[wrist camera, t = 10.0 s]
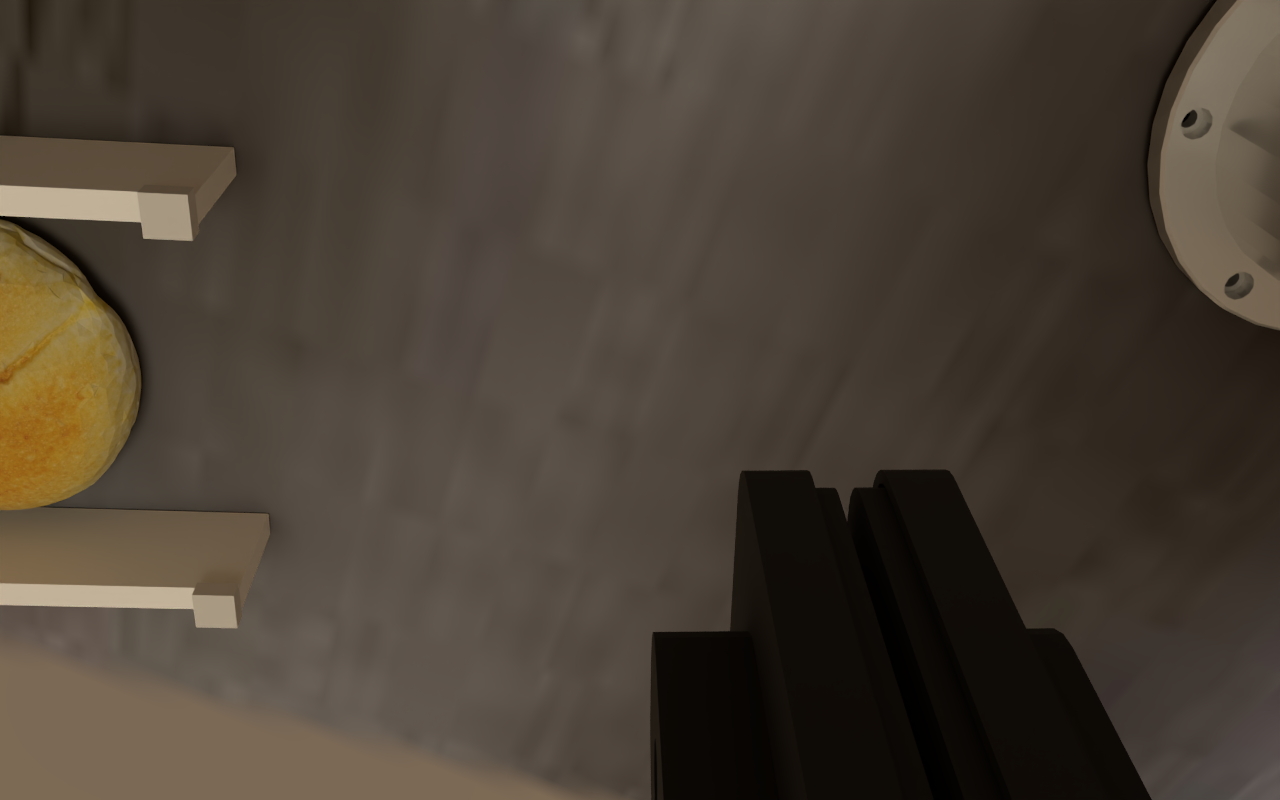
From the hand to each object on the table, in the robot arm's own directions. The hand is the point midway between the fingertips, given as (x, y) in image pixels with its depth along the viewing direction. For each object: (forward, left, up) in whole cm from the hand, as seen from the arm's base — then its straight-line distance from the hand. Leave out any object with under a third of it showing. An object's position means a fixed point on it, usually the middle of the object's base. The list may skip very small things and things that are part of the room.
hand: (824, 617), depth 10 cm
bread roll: (+19, +11, -26) cm, 34 cm away
